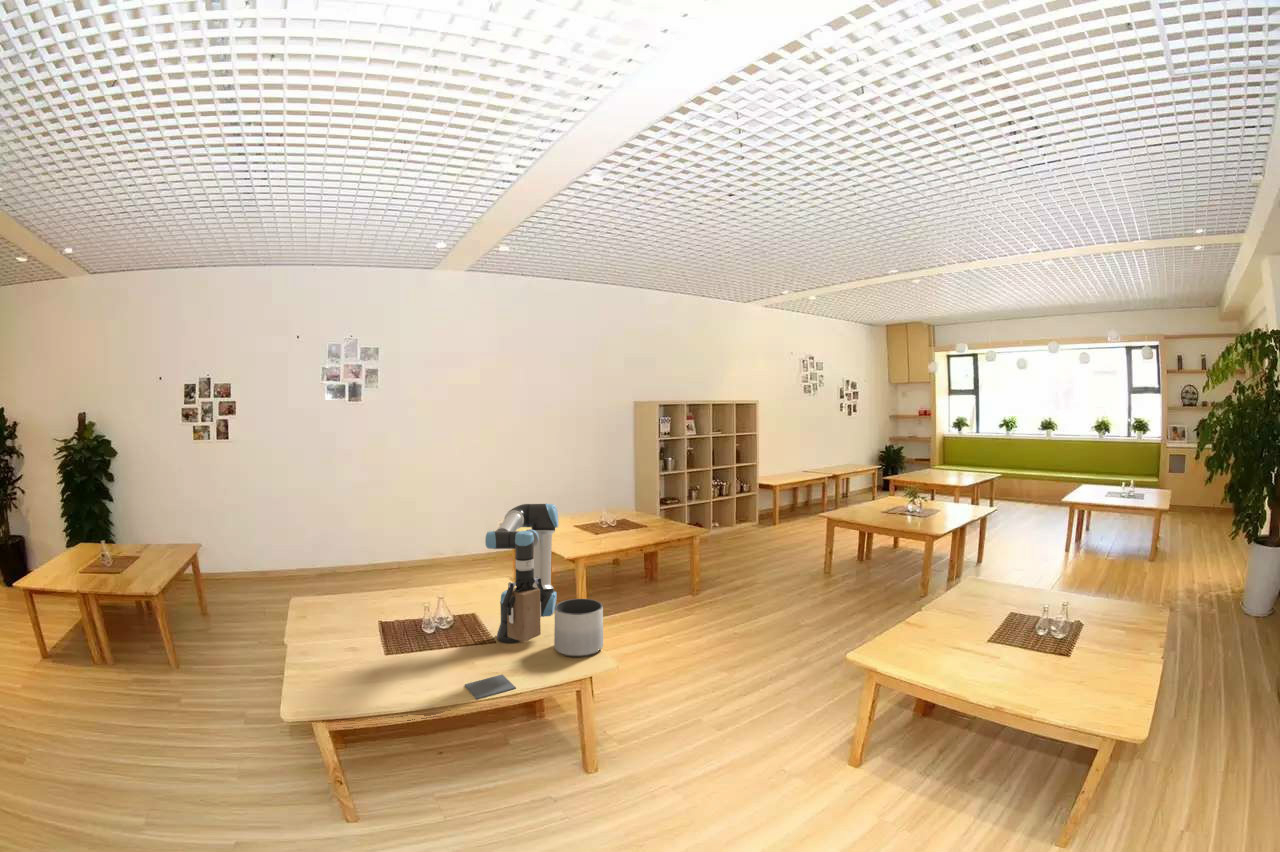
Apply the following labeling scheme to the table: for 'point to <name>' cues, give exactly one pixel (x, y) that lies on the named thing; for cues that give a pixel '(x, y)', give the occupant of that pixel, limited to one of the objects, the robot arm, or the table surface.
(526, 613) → the wooden block
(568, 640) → the planter
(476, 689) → the mat
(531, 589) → the robot arm
